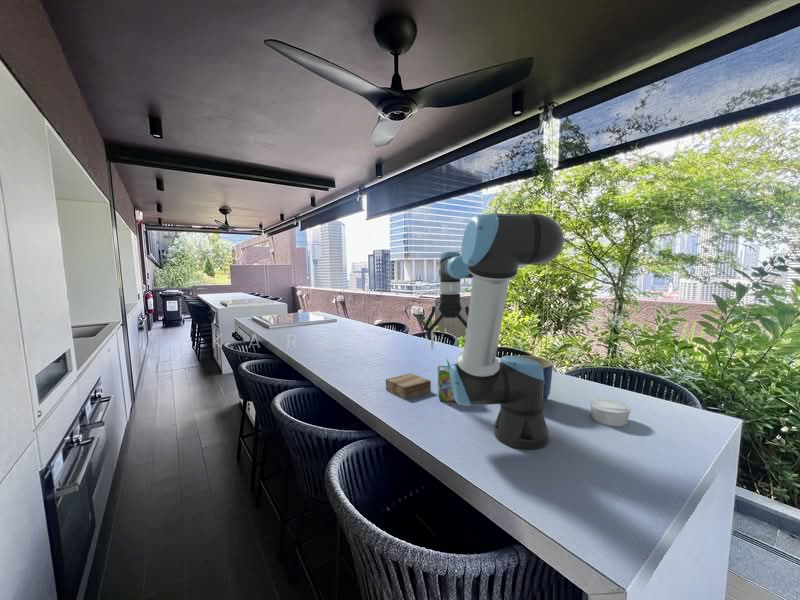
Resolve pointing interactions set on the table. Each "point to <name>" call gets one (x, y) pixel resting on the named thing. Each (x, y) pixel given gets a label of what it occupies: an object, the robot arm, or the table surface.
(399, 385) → the walnut base block
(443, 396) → the chalk box
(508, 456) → the table surface
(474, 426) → the table surface
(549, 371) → the planter
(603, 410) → the ramekin
